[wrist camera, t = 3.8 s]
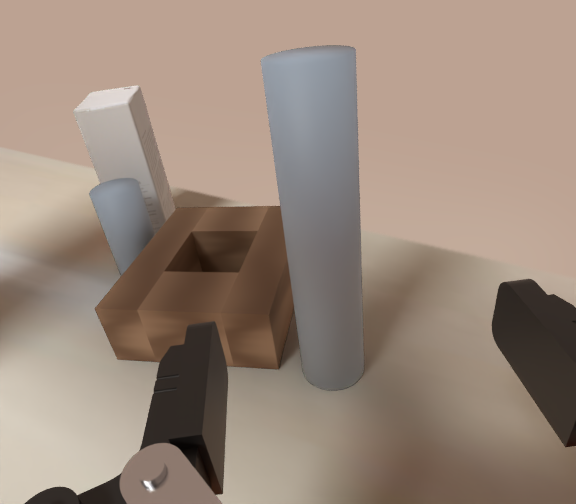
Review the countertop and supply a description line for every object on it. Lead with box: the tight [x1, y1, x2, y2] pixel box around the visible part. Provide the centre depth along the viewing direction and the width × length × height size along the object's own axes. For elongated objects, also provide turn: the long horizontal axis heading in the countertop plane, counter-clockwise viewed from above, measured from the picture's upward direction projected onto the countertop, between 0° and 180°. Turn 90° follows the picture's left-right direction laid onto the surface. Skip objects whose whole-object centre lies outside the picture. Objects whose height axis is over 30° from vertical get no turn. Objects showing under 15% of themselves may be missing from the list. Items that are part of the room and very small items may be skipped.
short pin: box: [89, 178, 155, 276], centre depth 33 cm, size 3×3×7 cm
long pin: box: [261, 45, 364, 390], centre depth 20 cm, size 3×3×16 cm
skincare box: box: [73, 86, 176, 234], centre depth 37 cm, size 6×4×12 cm
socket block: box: [95, 206, 294, 369], centre depth 30 cm, size 10×12×4 cm
